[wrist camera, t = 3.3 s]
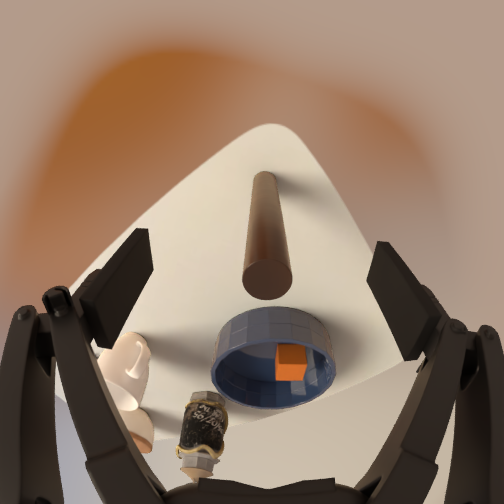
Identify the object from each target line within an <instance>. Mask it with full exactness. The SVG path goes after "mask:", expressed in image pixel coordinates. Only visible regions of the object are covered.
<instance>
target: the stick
mask: <svg viewBox="0 0 504 504" xmlns="http://www.w3.org/2000/svg"><path fill="white" fill-rule="evenodd" d="M242 282H243V286H244V288H245V290H246V291H247V292H248V293H249V294H250V295H251V296H253V297H255V298H257V299H261V300H273V299H277V298H279V297H281V296H283V295H284V294H285V293H286V292H287V291H288V290H289V289H290V287H291V285H292V271H291V265H290V259H289V252H288V246H287V240H286V234H285V228H284V222H283V216H282V211H281V205H280V199H279V194H278V188H277V183H276V178H275V177H274V175H273V174H272V173H270V172H266V171H263V172H260V173H258V174H257V175H256V176H255V178H254V181H253V189H252V198H251V206H250V215H249V224H248V232H247V241H246V250H245V259H244V268H243V277H242Z"/></svg>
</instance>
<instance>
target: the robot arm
mask: <svg viewBox="0 0 504 504" xmlns="http://www.w3.org/2000/svg"><path fill="white" fill-rule="evenodd" d="M153 270H154V269H153V262H152V255H151V248H150V240H149V232H148V229H144V228H136V229H135V230H134V231H133V232H132V233H131V235H130V236H129V237H128V238H127V239H126V240H125V242H124V243H123V244H122V245H121V246H120V247H119V249H118V250H117V251H116V252H115V253H114V255H113V256H112V257H111V258H110V259H109V261H108V262H107V263H106V264H105V266H104V267H103V268H102V269H96V270H95V271H93V272H92V273H90V274H89V275H88V276H87V278H86V279H85V280H84V282H82V284H81V285H80V287H79V288H78V289H77V290H76V291H75V293H74V294H73V295H72V296H71V295H70V292H69V290H68V288H67V287H65V286H56V287H53V288H51V289H49V290H48V291H46V292H45V294H44V295H43V297H42V301H43V303H44V305H45V308H46V310H47V313H42V314H38V313H37V311H36V309H35V307H34V306H32V305H26V306H22V307H21V308H19V309H18V310H17V311H16V312H15V314H14V315H13V318H12V322H11V325H10V328H9V332H8V336H7V340H6V343H5V347H4V352H3V356H2V360H1V365H0V504H64V497H63V490H62V483H61V477H60V471H59V464H58V455H57V445H56V430H55V369H56V361H57V366H58V370H59V374H60V378H61V382H62V386H63V390H64V393H65V397H66V400H67V404H68V407H69V410H70V413H71V416H72V419H73V422H74V425H75V428H76V431H77V434H78V436H79V439H80V441H81V444H82V447H83V449H84V452H85V454H86V457H87V461H86V462H85V465H86V469H87V472H88V474H89V476H90V478H91V481H92V483H93V485H94V486H95V489H96V491H97V493H98V495H99V496H100V498H101V500H102V502H103V504H423V502H424V500H425V498H426V496H427V494H428V492H429V490H430V488H431V486H432V484H433V481H434V479H435V477H436V474H437V471H438V465H437V464H435V459H436V456H437V454H438V451H439V449H440V446H441V443H442V440H443V438H444V435H445V432H446V429H447V425H448V422H449V419H450V416H451V413H452V409H453V406H454V402H455V403H456V405H455V427H454V440H453V451H452V459H451V466H450V473H449V479H448V484H447V490H446V495H445V501H444V504H504V354H503V350H502V346H501V342H500V338H499V335H498V333H497V332H496V331H495V329H494V328H492V327H491V326H488V325H482V326H481V327H480V328H479V330H478V332H471V331H468V329H467V328H466V326H465V325H464V324H463V323H462V322H461V321H459V320H457V319H450V317H449V316H448V314H447V313H446V311H445V310H444V308H443V307H442V305H441V304H440V303H439V301H438V300H437V298H435V295H434V294H433V293H432V291H431V290H430V289H429V288H427V287H426V286H425V285H421V284H420V283H419V281H418V280H417V278H416V277H415V276H414V274H413V273H412V272H411V270H410V269H409V268H408V266H407V265H406V264H405V262H404V261H403V260H402V259H401V257H400V256H399V255H398V254H397V252H396V251H395V250H394V248H393V247H392V246H391V245H390V243H389V242H382V241H377V245H376V248H375V252H374V255H373V259H372V263H371V266H370V270H369V273H368V277H367V280H366V281H367V283H368V285H369V287H370V289H371V291H372V293H373V295H374V297H375V299H376V301H377V303H378V305H379V307H380V309H381V311H382V313H383V315H384V317H385V319H386V321H387V323H388V326H389V328H390V330H391V332H392V334H393V336H394V339H395V341H396V343H397V345H398V348H399V350H400V352H401V354H402V357H403V359H404V361H411V360H417V359H418V358H419V356H420V354H421V353H422V351H423V352H424V354H425V356H426V357H425V359H424V360H423V362H422V363H421V365H420V366H419V368H418V370H417V371H416V372H417V373H418V375H417V377H416V380H415V382H414V384H413V387H412V389H411V391H410V394H409V396H408V398H407V401H406V403H405V405H404V407H403V409H402V411H401V413H400V415H399V417H398V419H397V421H396V424H395V425H394V427H393V429H392V431H391V433H390V435H389V436H388V438H387V440H386V442H385V444H384V445H383V447H382V449H381V451H380V452H379V454H378V456H377V457H376V459H375V461H374V462H373V464H372V465H371V467H370V469H369V470H368V472H367V473H366V474H365V476H364V477H363V478H362V479H361V480H360V481H359V482H358V483H357V485H356V486H355V487H354V488H352V487H349V486H345V485H341V484H335V478H327V479H318V480H304V481H300V482H296V483H293V484H289V485H285V486H281V487H277V488H273V489H263V488H259V487H255V486H251V485H247V484H243V483H239V482H235V481H231V480H219V479H209V478H201V477H199V481H198V483H192V484H186V485H183V486H179V487H176V488H174V489H172V490H170V491H168V492H167V491H166V489H165V488H164V487H163V485H162V484H161V482H160V481H159V480H158V478H157V477H156V476H155V475H154V473H153V472H152V470H151V469H150V467H149V466H148V464H147V462H146V461H145V459H144V457H143V456H142V454H141V452H140V451H139V449H138V447H137V445H136V444H135V442H134V440H133V438H132V436H131V434H130V433H129V431H128V429H127V427H126V425H125V423H124V421H123V419H122V417H121V415H120V413H119V411H118V409H117V407H116V405H115V403H114V400H113V398H112V396H111V394H110V392H109V389H108V387H107V385H106V382H105V380H104V377H103V375H102V373H101V370H100V367H99V365H98V362H97V360H96V357H95V354H94V352H93V349H92V347H91V342H92V340H93V338H94V339H95V342H96V344H97V346H98V347H101V348H106V349H111V350H112V348H113V346H114V344H115V342H116V340H117V338H118V336H119V334H120V332H121V330H122V328H123V326H124V324H125V322H126V320H127V318H128V316H129V314H130V312H131V311H132V309H133V307H134V305H135V303H136V301H137V299H138V297H139V295H140V294H141V292H142V290H143V288H144V286H145V285H146V283H147V281H148V279H149V277H150V276H151V274H152V272H153Z"/></svg>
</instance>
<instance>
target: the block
mask: <svg viewBox="0 0 504 504" xmlns="http://www.w3.org/2000/svg"><path fill="white" fill-rule="evenodd" d="M306 367H307V358H306V351H305V346H304V345H300V344H278V346H277V352H276V358H275V376H276V380H280V381H302V380H303V377H304V374H305V371H306Z"/></svg>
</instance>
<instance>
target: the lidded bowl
mask: <svg viewBox="0 0 504 504" xmlns="http://www.w3.org/2000/svg"><path fill="white" fill-rule="evenodd" d="M118 411H119V413H120V415H121V417H122V419H123V421H124V423H125V425H126V427H127V429H128V431H129V433H130V434H131V436H132V438H133V440H134V442H135V444H136V445H137V447H138V449H139V451H140V452H141V453H150V452H151V451H152V445H153V441H154V427H153V424H152V422H151V420H150V418H149V416H148V414H147V413H146V412H145V411H144V410H142V409H140V408H137V409H136V410H132V411H126V410H121V409H118Z"/></svg>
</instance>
